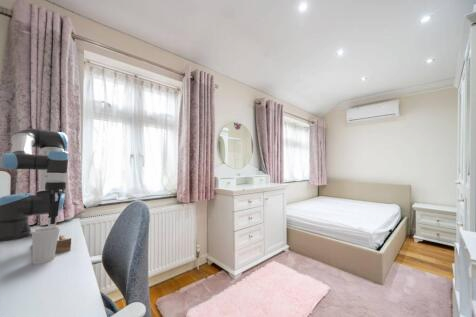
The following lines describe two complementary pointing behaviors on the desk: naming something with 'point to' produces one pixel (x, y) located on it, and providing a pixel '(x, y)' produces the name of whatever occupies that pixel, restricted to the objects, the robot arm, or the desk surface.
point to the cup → (44, 244)
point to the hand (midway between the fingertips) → (51, 230)
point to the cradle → (63, 244)
